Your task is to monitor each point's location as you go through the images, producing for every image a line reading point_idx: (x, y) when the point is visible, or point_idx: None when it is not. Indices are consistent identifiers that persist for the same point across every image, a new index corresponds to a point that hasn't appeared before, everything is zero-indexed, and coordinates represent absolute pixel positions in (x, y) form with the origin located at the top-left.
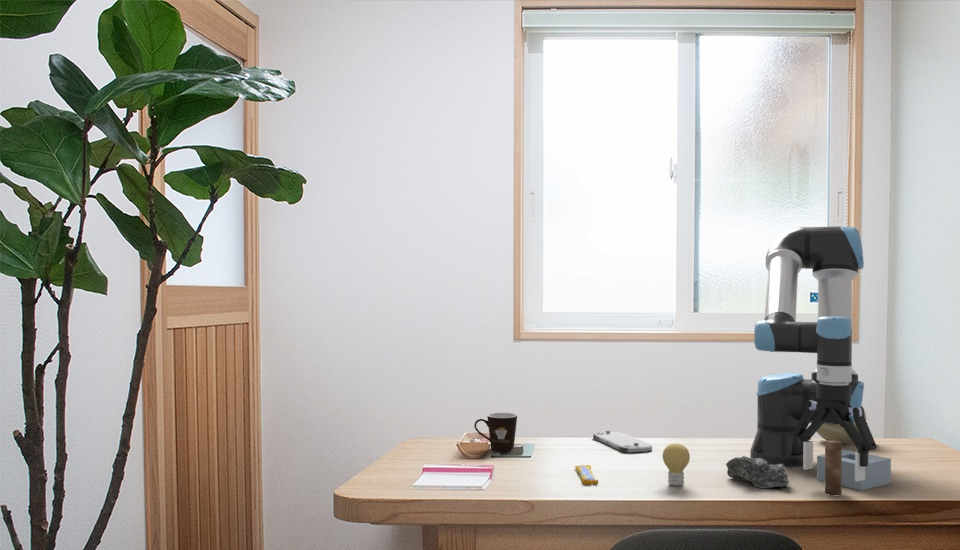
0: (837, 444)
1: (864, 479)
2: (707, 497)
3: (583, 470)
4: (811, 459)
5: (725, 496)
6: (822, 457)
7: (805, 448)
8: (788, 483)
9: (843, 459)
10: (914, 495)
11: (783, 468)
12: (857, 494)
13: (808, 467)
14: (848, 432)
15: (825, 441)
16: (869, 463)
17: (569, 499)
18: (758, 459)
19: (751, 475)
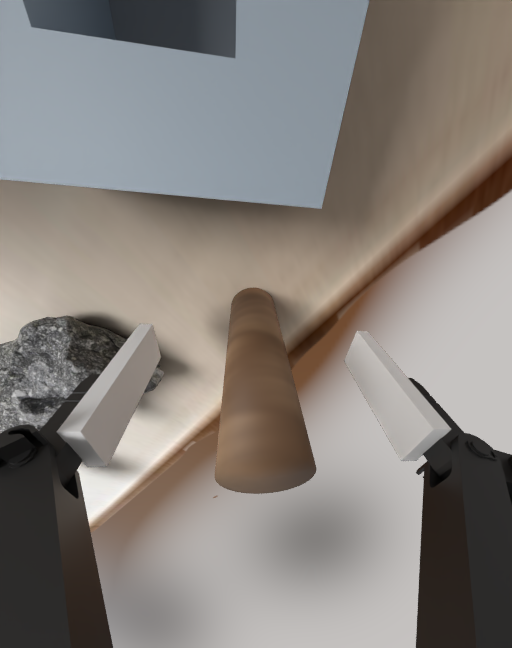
0: (303, 477)
1: (367, 334)
2: (149, 456)
3: None
4: (138, 355)
5: (155, 442)
6: (29, 180)
7: (121, 431)
8: (159, 365)
9: (158, 135)
10: (498, 68)
11: None
12: (303, 261)
13: (155, 349)
14: (436, 620)
15: (222, 485)
16: (349, 83)
17: (100, 514)
18: (36, 422)
19: None
